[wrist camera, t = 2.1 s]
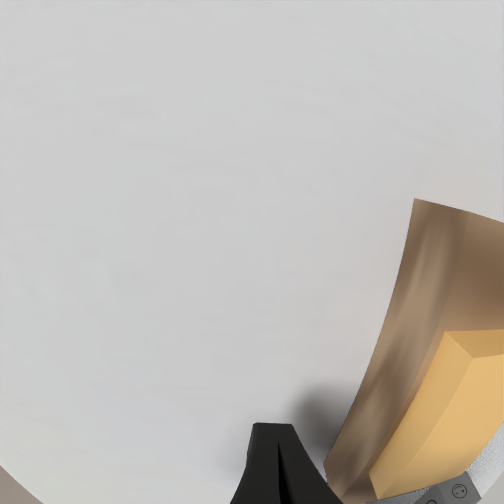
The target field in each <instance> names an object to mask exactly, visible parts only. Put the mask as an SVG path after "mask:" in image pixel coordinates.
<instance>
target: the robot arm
mask: <svg viewBox="0 0 504 504" xmlns="http://www.w3.org/2000/svg"><path fill="white" fill-rule="evenodd" d="M230 504H344V503H343V502H342V501H341V500H340V499H339V498H338V497H337V495H336V494H335V493H334V492H333V491H332V489H331V488H330V487H329V485H328V484H327V483H326V482H325V480H324V479H323V477H322V476H321V475H320V473H319V472H318V470H317V469H316V467H315V466H314V464H313V462H312V461H311V459H310V458H309V456H308V454H307V452H306V451H305V449H304V447H303V445H302V443H301V442H300V440H299V438H298V436H297V433H296V431H295V429H294V427H293V425H292V424H277V423H255V424H253V428H252V433H251V437H250V442H249V446H248V451H247V461H246V468H245V471H244V473H243V476H242V478H241V481H240V483H239V486H238V488H237V490H236V492H235V494H234V497H233V499H232V501H231V502H230ZM362 504H365V503H362Z"/></svg>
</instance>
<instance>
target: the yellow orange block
mask: <svg viewBox="0 0 504 504" xmlns="http://www.w3.org/2000/svg"><path fill="white" fill-rule="evenodd" d="M503 422H504V329H500V330H479V331H445V332H444V335H443V338H442V340H441V342H440V345H439V347H438V350H437V352H436V354H435V357H434V359H433V361H432V363H431V365H430V368H429V370H428V372H427V374H426V376H425V378H424V380H423V382H422V384H421V386H420V388H419V390H418V392H417V394H416V396H415V398H414V400H413V402H412V404H411V405H410V407H409V409H408V411H407V413H406V414H405V416H404V418H403V420H402V421H401V423H400V425H399V426H398V428H397V430H396V431H395V433H394V435H393V436H392V438H391V439H390V441H389V443H388V444H387V446H386V447H385V449H384V450H383V452H382V453H381V455H380V456H379V458H378V459H377V461H376V462H375V463H374V465H373V466H372V468H371V469H370V470H369V472H368V473H369V476H370V478H371V481H372V484H373V487H374V490H375V493H376V496H377V499H383V498H388V497H392V496H396V495H400V494H404V493H408V492H411V491H415V490H418V489H422V488H425V487H428V486H431V485H434V484H437V483H440V482H443V481H446V480H449V479H451V478H454V477H457V476H459V475H462V474H463V473H464V471H465V470H466V469H467V468H468V467H469V466H470V465H471V463H472V462H473V461H474V460H475V459H476V458H477V456H478V455H479V454H480V453H481V451H482V450H483V449H484V448H485V446H486V445H487V444H488V442H489V441H490V440H491V439H492V437H493V436H494V434H495V433H496V432H497V430H498V429H499V428H500V426H501V425H502V423H503Z"/></svg>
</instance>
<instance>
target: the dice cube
mask: <svg viewBox="0 0 504 504" xmlns="http://www.w3.org/2000/svg"><path fill="white" fill-rule="evenodd" d="M480 499H481V497H480V495H479V493H478V491H477V489H476V488H475V486H474V484H473V482H472V480H471V479H470V477H469V475H468V473H467V472H466V471H465V472H464V473H463V474H462V475H459V476H457V477H454V478H451V479H449V480H446V481H443V482H442V483H439V484H437V485H434V486H432V487H431V488H430V489H429V490H428V491H427V492H426V493H425V494H424V495H423V496H422V497H421V498H420V499H419V500H418V501H417V502H416V503H415V504H476V503H477V502H478V501H479V500H480Z"/></svg>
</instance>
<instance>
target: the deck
mask: <svg viewBox="0 0 504 504" xmlns="http://www.w3.org/2000/svg"><path fill="white" fill-rule="evenodd" d="M500 329H504V223H502V222H499V221H496V220H493V219H490V218H487V217H484V216H481V215H477V214H474V213H471V212H467V211H464V210H460V209H456V208H452V207H448V206H444V205H440V204H436V203H432V202H428V201H424V200H419V199H415V198H414V204H413V210H412V215H411V220H410V225H409V230H408V235H407V240H406V244H405V248H404V253H403V257H402V261H401V265H400V269H399V273H398V277H397V280H396V284H395V288H394V291H393V295H392V298H391V302H390V305H389V308H388V312H387V315H386V318H385V321H384V324H383V327H382V330H381V333H380V336H379V339H378V342H377V345H376V347H375V350H374V353H373V356H372V358H371V361H370V364H369V366H368V369H367V371H366V374H365V376H364V379H363V381H362V384H361V386H360V389H359V391H358V393H357V396H356V398H355V400H354V403H353V405H352V407H351V409H350V412H349V414H348V416H347V418H346V420H345V422H344V424H343V427H342V429H341V431H340V433H339V435H338V437H337V439H336V441H335V443H334V445H333V447H332V449H331V451H330V452H329V454H328V456H327V458H326V460H325V462H324V468H325V473H326V477H327V481H328V485H329V487H330V488H331V489H332V491H333V492H334V493H335V494H336V495H337V497H338V498H339V499H340V500H341V501H342V502H343V503H344V504H362V503H367V502H373V501H377V500H382V499H377V496H376V493H375V490H374V487H373V484H372V481H371V478H370V476H369V473H368V472H369V470H370V469H371V468H372V466H373V465H374V463H375V462H376V461H377V459H378V458H379V456H380V455H381V453H382V452H383V450H384V449H385V447H386V446H387V444H388V443H389V441H390V439H391V438H392V436H393V435H394V433H395V431H396V430H397V428H398V426H399V425H400V423H401V421H402V420H403V418H404V416H405V414H406V413H407V411H408V409H409V407H410V405H411V404H412V402H413V400H414V398H415V396H416V394H417V392H418V390H419V388H420V386H421V384H422V382H423V380H424V378H425V376H426V374H427V372H428V370H429V368H430V365H431V363H432V361H433V359H434V357H435V354H436V352H437V350H438V347H439V345H440V342H441V340H442V338H443V335H444V332H445V331H479V330H500ZM440 483H442V482H440ZM437 484H439V483H437ZM437 484H434V485H437ZM434 485H431V486H434ZM428 487H430V486H428ZM425 488H427V487H425ZM422 489H424V488H422ZM418 490H421V489H418ZM418 490H415V491H418ZM411 492H414V491H411ZM411 492H408V493H411ZM404 494H407V493H404ZM400 495H403V494H400ZM396 496H399V495H396ZM392 497H395V496H392ZM388 498H391V497H388ZM383 499H387V498H383Z"/></svg>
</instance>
